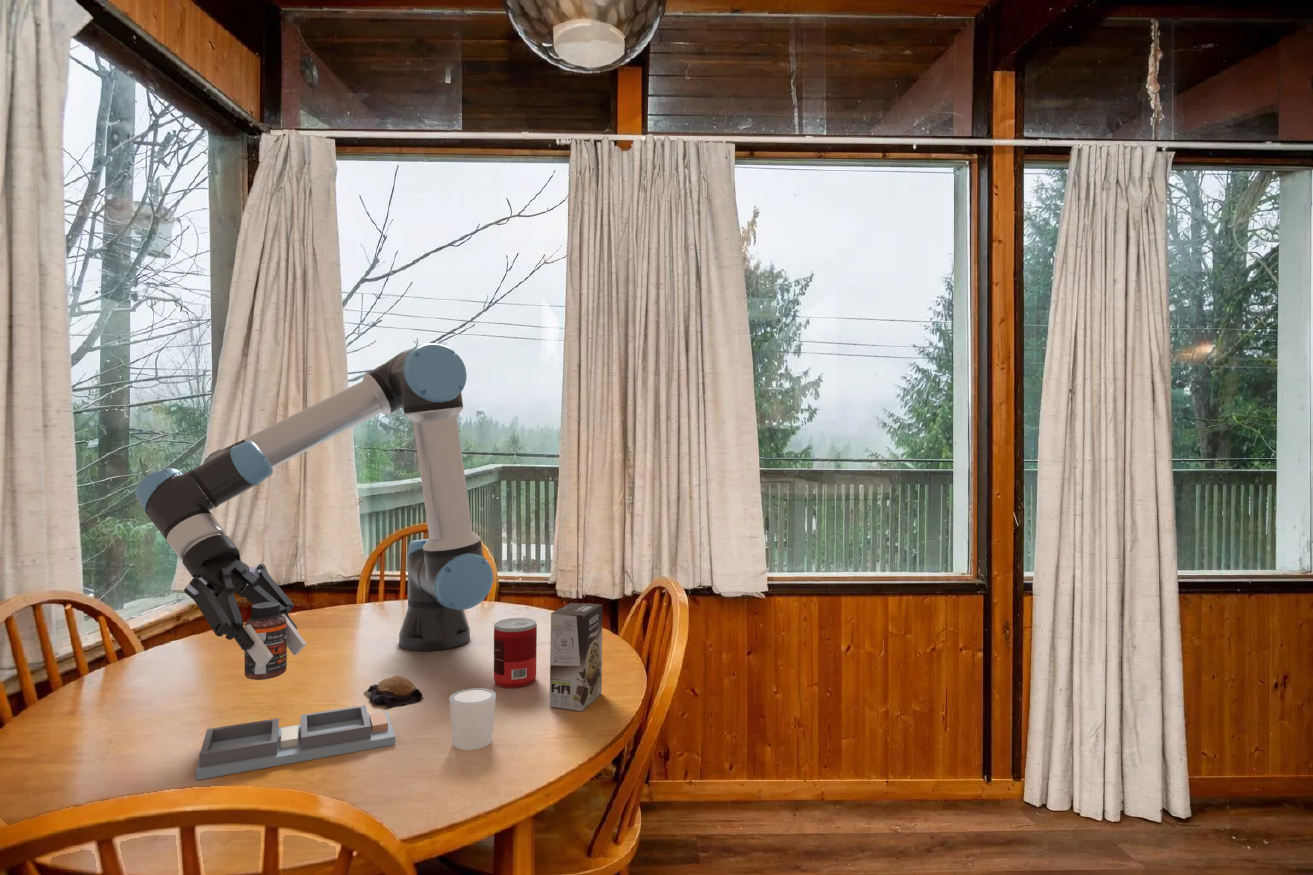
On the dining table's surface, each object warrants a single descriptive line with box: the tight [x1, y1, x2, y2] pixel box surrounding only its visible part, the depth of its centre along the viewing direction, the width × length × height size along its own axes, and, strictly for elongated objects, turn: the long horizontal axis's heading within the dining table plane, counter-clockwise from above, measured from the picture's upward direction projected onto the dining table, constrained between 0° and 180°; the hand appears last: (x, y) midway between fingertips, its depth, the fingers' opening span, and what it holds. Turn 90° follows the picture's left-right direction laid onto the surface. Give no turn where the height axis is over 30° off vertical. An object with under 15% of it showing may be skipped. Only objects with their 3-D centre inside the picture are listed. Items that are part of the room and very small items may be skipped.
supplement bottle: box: [244, 602, 288, 681], centre depth 113 cm, size 6×6×11 cm
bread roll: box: [363, 675, 424, 710], centre depth 125 cm, size 11×8×4 cm
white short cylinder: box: [448, 687, 497, 751], centre depth 106 cm, size 7×7×7 cm
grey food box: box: [549, 602, 603, 712], centre depth 124 cm, size 9×6×16 cm
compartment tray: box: [195, 704, 396, 781], centre depth 104 cm, size 25×11×3 cm, turn 117°
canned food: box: [493, 617, 538, 689], centre depth 133 cm, size 8×8×11 cm
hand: (283, 655), depth 112 cm, fingers closed on supplement bottle, 6 cm apart
